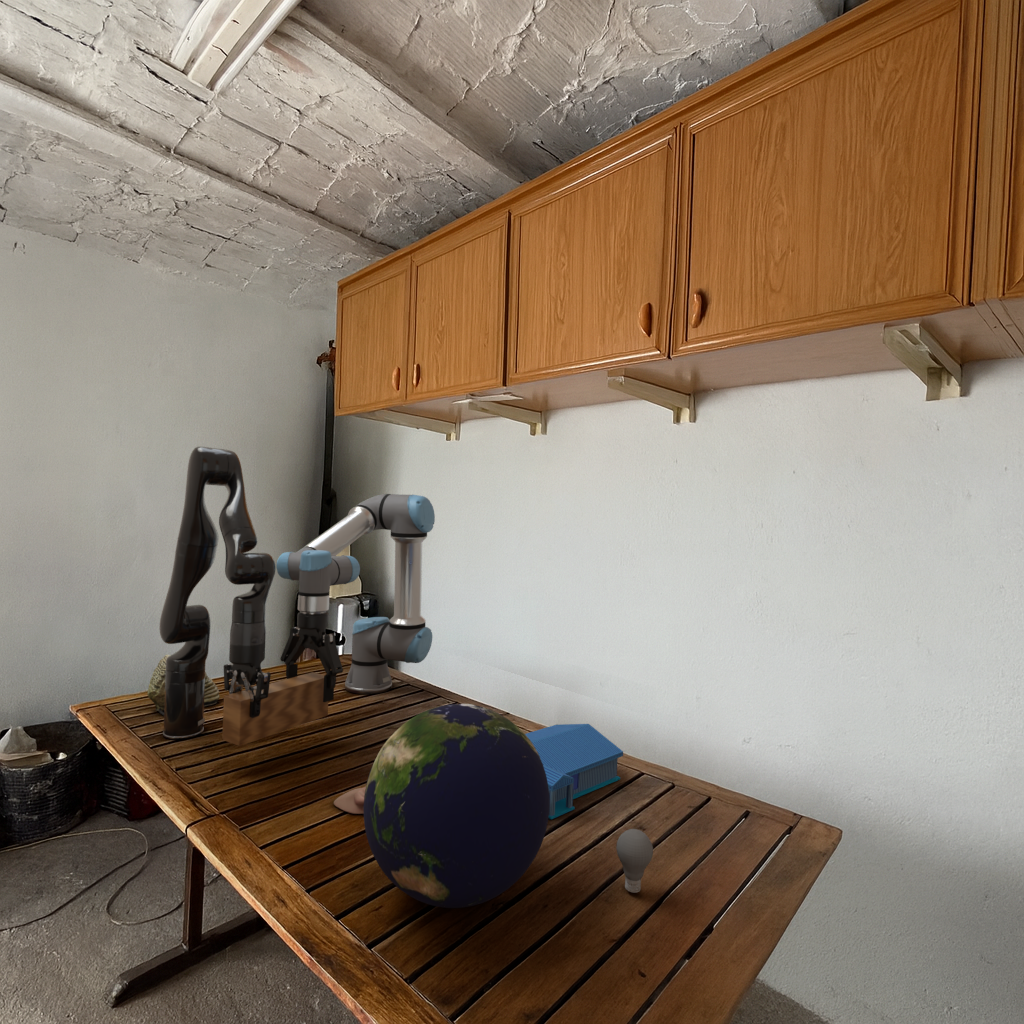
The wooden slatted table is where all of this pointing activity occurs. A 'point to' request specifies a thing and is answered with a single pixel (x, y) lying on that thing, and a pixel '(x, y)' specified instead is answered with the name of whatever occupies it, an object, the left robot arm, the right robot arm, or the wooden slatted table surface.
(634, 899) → the wooden slatted table surface
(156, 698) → the fossil
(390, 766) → the globe
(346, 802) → the anatomical model
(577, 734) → the model building
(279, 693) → the box
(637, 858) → the light bulb
